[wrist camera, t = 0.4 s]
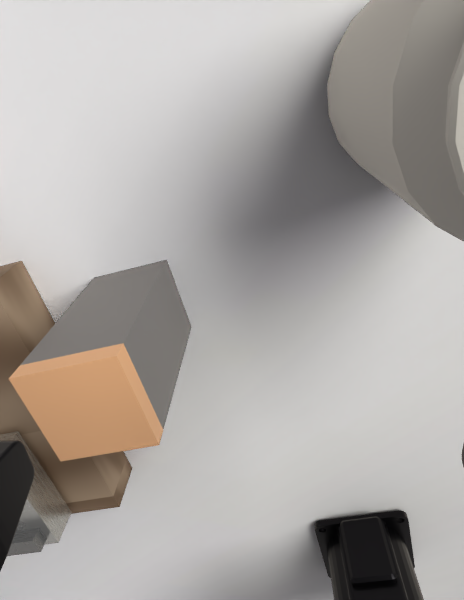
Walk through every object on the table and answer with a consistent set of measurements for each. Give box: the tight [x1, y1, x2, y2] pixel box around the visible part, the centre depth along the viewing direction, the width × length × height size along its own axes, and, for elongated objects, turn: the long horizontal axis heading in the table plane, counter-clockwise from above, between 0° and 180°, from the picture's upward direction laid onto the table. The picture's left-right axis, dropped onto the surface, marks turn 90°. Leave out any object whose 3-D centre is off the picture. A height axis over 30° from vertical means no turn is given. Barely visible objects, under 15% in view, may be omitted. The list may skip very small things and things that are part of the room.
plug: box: [9, 260, 191, 461], centre depth 19 cm, size 4×4×9 cm
